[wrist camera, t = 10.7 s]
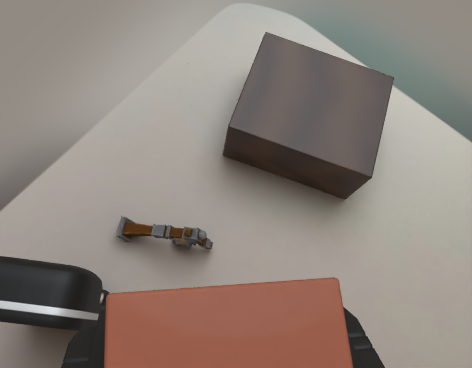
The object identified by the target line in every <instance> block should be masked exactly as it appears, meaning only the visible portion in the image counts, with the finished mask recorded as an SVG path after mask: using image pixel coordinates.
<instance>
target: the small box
mask: <svg viewBox="0 0 472 368" xmlns="http://www.w3.org/2000/svg"><path fill="white" fill-rule="evenodd" d="M104 368H353V364H352V358H351V352H350V346H349V340H348V334H347V328H346V321H345V315H344V309H343V303H342V297H341V291H340V285H339V280H338V279H337V278H321V279H307V280H293V281H279V282H264V283H250V284H236V285H222V286H208V287H194V288H180V289H166V290H152V291H137V292H123V293H111V294H108V295H107V297H106V317H105V351H104Z"/></svg>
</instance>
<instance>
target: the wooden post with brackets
mask: <svg viewBox="0 0 472 368" xmlns="http://www.w3.org/2000/svg"><path fill="white" fill-rule="evenodd" d="M116 236H117V237H119V238H121V239H123V240H125V241H131V237H137V236H154V237H155V238H165V239H168V238H169V239H170V240H171V239H173V242H174V243H175V244H176V245H178V246H187V247H189V248H191V245H192V244H193V245H196V243H197V244H198V245H199V246H201V247H204V248H206V249H212V243H213V242H211V241H210V239H208V238H206V236H207V234H206V232H205V231H202V230H201V229H199V228H187V227H184V229H182V228H174V227H172V226H169V225H168V226H166V225H155V224H154V225H153V226H148V225H142V224H137V223H134V222H133V221H131V220H129V219H128V218H126V217H122V216H121V219H120V223H119V226H118V230H117V233H116Z"/></svg>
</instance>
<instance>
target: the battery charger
mask: <svg viewBox="0 0 472 368" xmlns="http://www.w3.org/2000/svg"><path fill="white" fill-rule="evenodd" d="M108 294H110V293H109V292H108V291H106V290H103V289H102V281H101V280H100V278H99V277H98V276H97V275H96V274H94V273H93V272H91V271H89V270H86V269H84V268H80V267H76V266H72V265H65V264H57V263H49V262H42V261H35V260H27V259H20V258H12V257H3V256H0V322H8V323H16V324H24V325H32V326H41V327H49V328H58V329H68V330H80V329H81V328H87V327H96V324H97V320H98V316H99V312H100V309H101V307H106V297H107V295H108Z"/></svg>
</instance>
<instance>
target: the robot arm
mask: <svg viewBox="0 0 472 368" xmlns="http://www.w3.org/2000/svg"><path fill="white" fill-rule="evenodd" d="M343 309H344V315H345V321H346V328H347V334H348V340H349V346H350V352H351V358H352V364H353V368H385V367H384V365H383V363H382V362H381V360H380V358H379V356H378V355H377V353H376V351H375V349H374V348H372V344H371V342H370V340H369V339H368V337H367V336H366V335H365V332H364V330H363V328H362V326H361V325H360V323H359V321H358V319H357V318H356V317H355V316H353V315H352V314H351V313H350V312H349V311H348V310H347V309H345V308H344V307H343ZM105 317H106V307H101V309H100V312H99V316H98V320H97V324H96V327H87V328H81V329H80V330H79V331H78V332H77V334H76V335H75V336H74V337H73V339H72V340H71V341H70V342H69V344H68V347H67V350H66V354H65V357H64V360H63V364H62V367H61V368H104V351H105Z"/></svg>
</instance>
